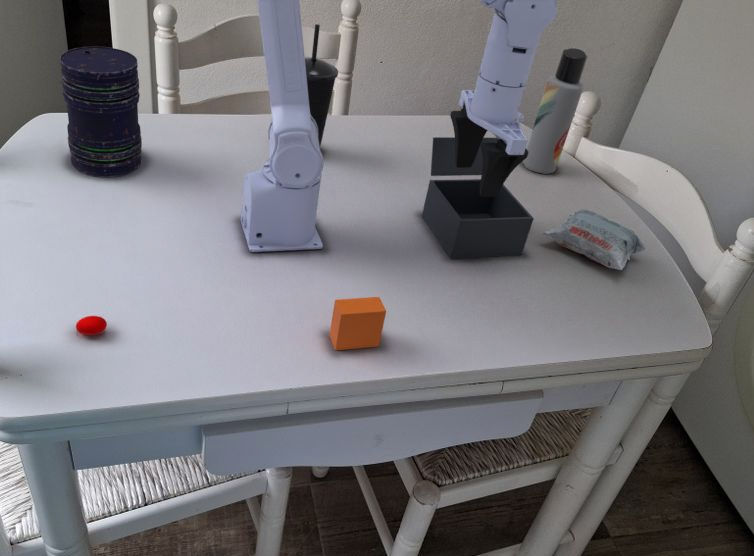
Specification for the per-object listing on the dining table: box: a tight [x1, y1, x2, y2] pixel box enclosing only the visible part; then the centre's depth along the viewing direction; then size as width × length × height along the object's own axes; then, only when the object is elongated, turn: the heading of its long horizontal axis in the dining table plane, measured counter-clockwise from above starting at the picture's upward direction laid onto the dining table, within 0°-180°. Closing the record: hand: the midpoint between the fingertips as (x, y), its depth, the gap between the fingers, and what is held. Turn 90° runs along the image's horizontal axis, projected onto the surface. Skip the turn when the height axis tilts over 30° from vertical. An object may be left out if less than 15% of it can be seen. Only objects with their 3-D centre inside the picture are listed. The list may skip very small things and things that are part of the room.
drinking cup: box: [305, 23, 339, 147], centre depth 108 cm, size 8×8×20 cm
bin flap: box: [430, 136, 498, 177], centre depth 99 cm, size 5×11×1 cm
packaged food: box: [542, 209, 646, 271], centre depth 99 cm, size 9×12×5 cm
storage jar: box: [59, 46, 143, 178], centre depth 98 cm, size 10×10×15 cm
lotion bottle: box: [522, 47, 588, 175], centre depth 115 cm, size 6×6×20 cm
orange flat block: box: [329, 296, 387, 351], centre depth 76 cm, size 5×2×5 cm, turn 106°
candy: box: [75, 315, 108, 336], centre depth 72 cm, size 3×2×2 cm, turn 103°
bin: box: [421, 178, 535, 260], centre depth 98 cm, size 11×11×6 cm
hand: (475, 180), depth 91 cm, fingers open, 7 cm apart
